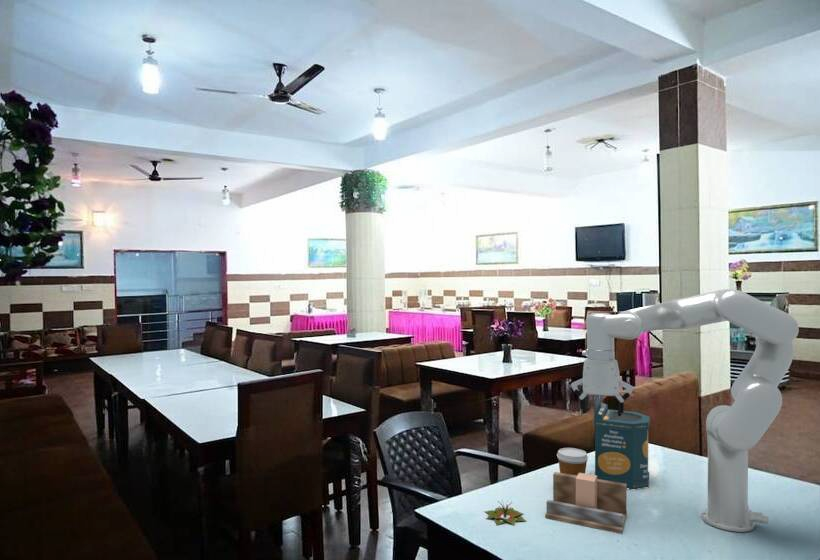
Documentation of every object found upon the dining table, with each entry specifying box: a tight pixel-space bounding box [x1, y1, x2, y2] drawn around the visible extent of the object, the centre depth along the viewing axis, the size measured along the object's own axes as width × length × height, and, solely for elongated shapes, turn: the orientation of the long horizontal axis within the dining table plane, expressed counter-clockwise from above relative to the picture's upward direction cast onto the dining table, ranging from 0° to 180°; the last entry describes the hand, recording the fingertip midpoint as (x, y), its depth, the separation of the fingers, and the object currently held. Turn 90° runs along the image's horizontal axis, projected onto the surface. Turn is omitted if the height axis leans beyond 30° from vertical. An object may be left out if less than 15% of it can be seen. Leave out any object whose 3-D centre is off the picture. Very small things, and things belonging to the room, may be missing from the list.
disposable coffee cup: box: [556, 447, 589, 475], centre depth 170 cm, size 10×10×12 cm
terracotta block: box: [576, 473, 597, 509], centre depth 152 cm, size 5×5×10 cm
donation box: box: [593, 395, 651, 490], centre depth 179 cm, size 16×16×28 cm
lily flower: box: [484, 499, 527, 526], centre depth 151 cm, size 12×12×5 cm
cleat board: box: [544, 471, 628, 535], centre depth 152 cm, size 20×13×9 cm, turn 63°
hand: (602, 413), depth 158 cm, fingers open, 9 cm apart
